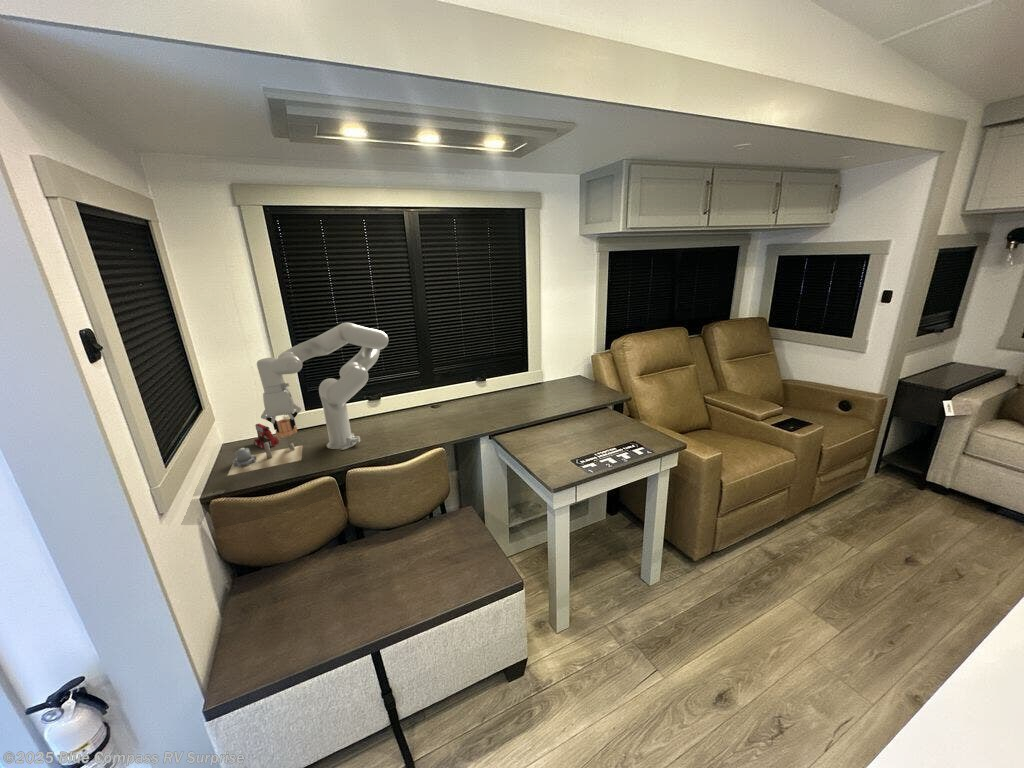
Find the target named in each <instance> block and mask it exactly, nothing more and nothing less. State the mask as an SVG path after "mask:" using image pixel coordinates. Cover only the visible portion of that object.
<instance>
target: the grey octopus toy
mask: <svg viewBox="0 0 1024 768" xmlns="http://www.w3.org/2000/svg"><path fill="white" fill-rule="evenodd" d="M234 454H235V458H237V459H235V458H234V460H233V462H234V463H233V462H232V464H233V465H234V467H236V466H238V468H241V467H243V466H250V464H252V463H255V462H256V460H257V459H256V456H251V455H252V453H251V450H250V448H249V447H246V448H245V447H241V448H238V450H235V451H234Z"/></svg>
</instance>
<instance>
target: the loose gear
mask: <svg viewBox="0 0 1024 768" xmlns="http://www.w3.org/2000/svg"><path fill="white" fill-rule="evenodd" d="M276 421H277V426H278V430H279V432H277V431H276V430H275V437H276V438H278V437H279V438H281V439H282V438H286V437H291V436H292V435H294V434H298V433H297V432H298V427H297V425H296V426H294V429H292V427H291V423H290V418H283V419H279V420H276Z"/></svg>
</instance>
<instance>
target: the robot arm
mask: <svg viewBox="0 0 1024 768" xmlns="http://www.w3.org/2000/svg"><path fill="white" fill-rule="evenodd" d="M347 344H351V345H354V346H356V347H357V346H358V347H361V348H360V350H359V351H358V353H356V354H355V355H354V356H353V357H351V359H349V360H348V361H347V362H346V363H345V364H343V365H342V366H341V367H340V370H339V377H340V378H339V379H336V378H333V377H332V378H330V377H329V378H326V379H323V380H322V381H321V382H320V384H319V386H318V393H319V394H318V395H319V398H320V401H321V405H322V409H323V414H324V418H325V424H326V431H327V435H328V440H329V441H328V443H326V447H327V448H328V449H334V450H339V449H340V451H344V450H347V449H350V448H352V447H353V446H355V445H356V443H360V442H361V437H360V435H355V434H354V432H352V430H351V429H352V428H351V423H350V417H349V411H348V408H347V407H348V405H347V402H348V401H349V400H350V399H351V398H353V397H354V396H355V395H356V394H357V393H358V392H359V391H360V390H361V389H362V388H363V387H365V386H366V385H367V382H368V380H369V372H368V371H369V370H370V369H371V368H372V367H373V366H374V365H375V364H376V363H377V361H378V359H379V356H380V353H381V350H384V349H385V348H386V347H388V344H389V337H388V334H386V333H385V331H382V330H379V329H376V328H369V327H366V326H362V325H358V324H355V323H352V322H342V323H340V324H338V325H336V326H334V327H332V328H331V329H329V330H326V331H325V332H323V333H322V334H319V335H317V336H316V337H315V336H314V337H313V338H310V339H308V340H306V341H303V342H301V343H298V344H297V345H296V344H295V345H294V346H292V347H291V348H288V349H286V350H285V351H282V352H281V353H280V354H279V355H278V356H277V357H273V356H272V357H265V358H261V359H259V360H257V362H256V368H257V371H258V375H259V378H260V382H261V385H262V388H263V393H262V400H263V405H264V410H263V412H262V414H261V415H260V418H261V419H262V420H265V421H267V422H270V423H271V424H272V426H273V429H274V431H275V432H276V431H277V432H279V430H278V426H277V421H278V420H277V419H276V417H279V416H284V415H288V417H289V419H290V423H291V427H292V429H294V427H295V426H296V427H297V425H296V422H295V421H296V420H295V418H296V416H297V415H299V413H300V412H301V411H302V408H301V407H300V406H298V405H297V404H295V402H294V400H293V397H292V393H291V392H290V389H289V388H288V387H290V384H289V383H286V382H285V380H284V377H283V375H293V374H297V373H299V372H300V371H301V370H302V368H303V363H304V362H305V361H307V360H309V359H312V358H315V357H321V356H323V357H324V356H327V355H330V354H332V353H333V352H335V351H337V350H339V349H341V348H342V347H344V346H346V345H347Z"/></svg>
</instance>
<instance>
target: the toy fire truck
mask: <svg viewBox="0 0 1024 768" xmlns="http://www.w3.org/2000/svg"><path fill="white" fill-rule="evenodd" d="M254 426H255V430H256V432H257V438H256V439H254V440H253V444H254V445H255V446H257V447H259V448H261V449H262V450H265V447H264V443H266V442H269V446H270V447H271V448H273V447H276V445H279V443H280V442H279V439H278V437H276V436H274V435H273V432H272V430H270V427H269V426H266V425H264V424H261V423H256V424H255V425H254Z"/></svg>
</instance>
